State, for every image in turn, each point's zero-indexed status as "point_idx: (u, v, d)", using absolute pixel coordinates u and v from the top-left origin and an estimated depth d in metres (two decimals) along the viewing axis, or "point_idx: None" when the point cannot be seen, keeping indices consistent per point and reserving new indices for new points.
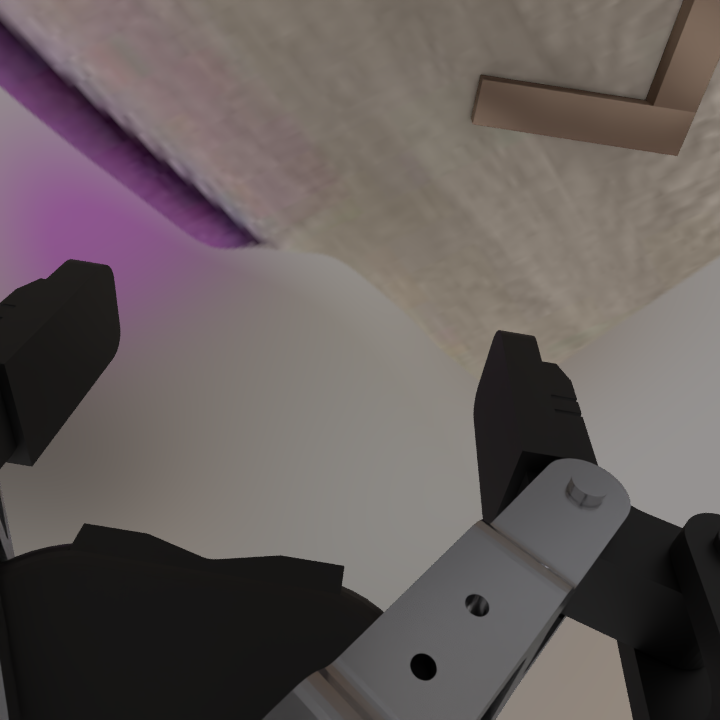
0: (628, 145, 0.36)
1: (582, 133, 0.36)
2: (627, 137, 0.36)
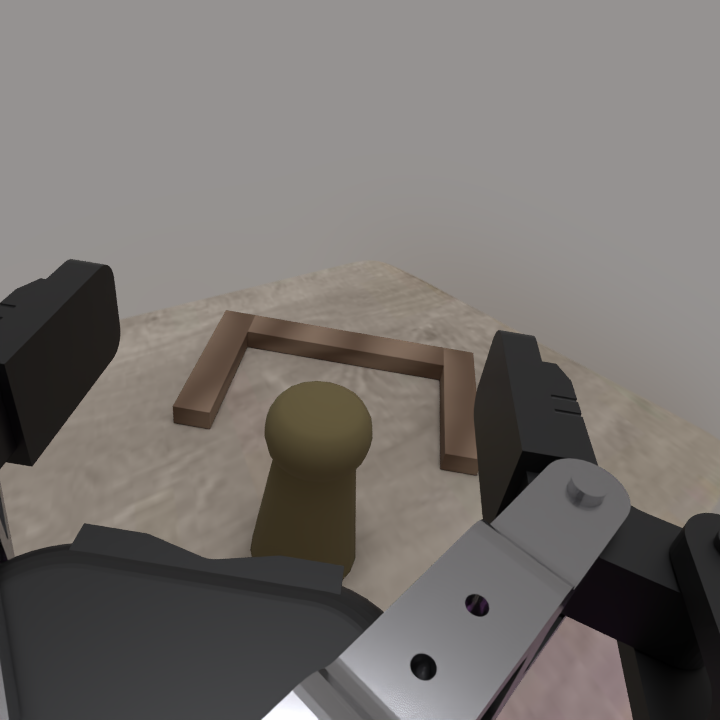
0: (472, 374, 0.48)
1: (471, 396, 0.45)
2: (467, 375, 0.47)
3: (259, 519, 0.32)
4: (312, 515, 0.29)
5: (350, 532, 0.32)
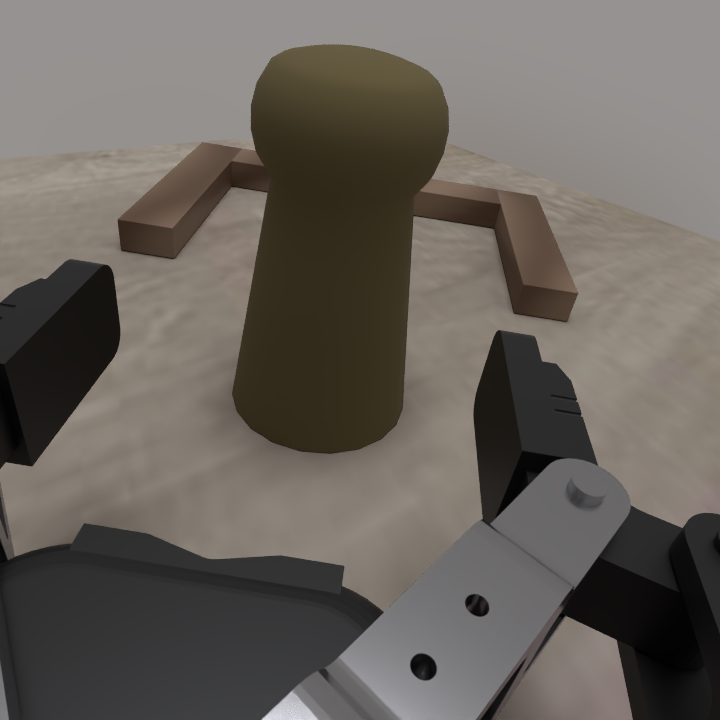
0: (541, 214, 0.35)
1: (545, 233, 0.32)
2: (534, 214, 0.34)
3: (245, 326, 0.19)
4: (340, 285, 0.16)
5: (400, 344, 0.19)
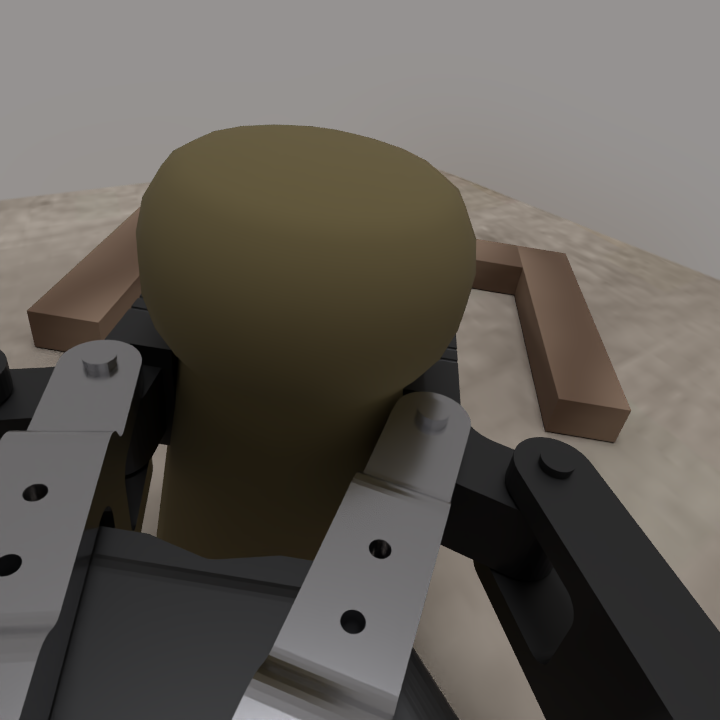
0: (573, 280, 0.28)
1: (579, 311, 0.26)
2: (565, 281, 0.28)
3: (158, 529, 0.13)
4: (292, 519, 0.10)
5: None
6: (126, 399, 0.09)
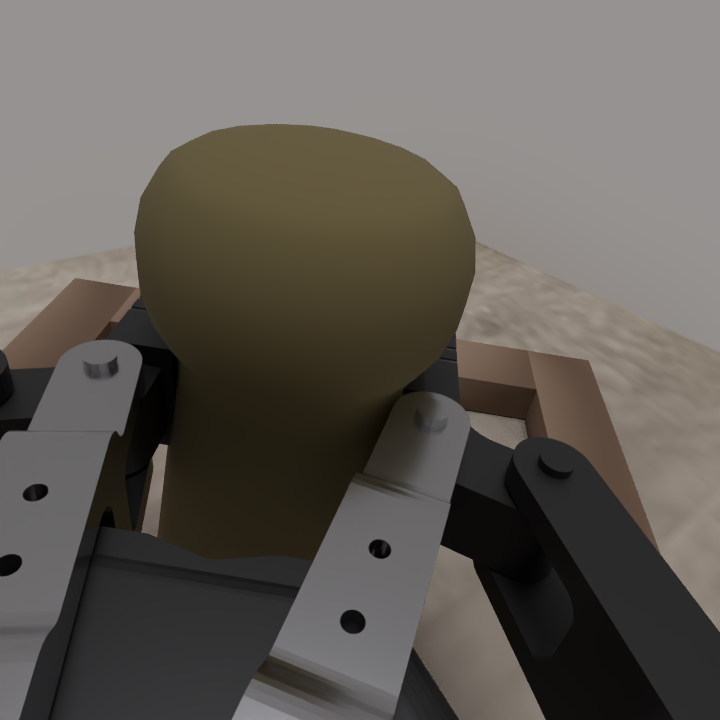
0: (602, 408, 0.22)
1: (614, 465, 0.19)
2: (592, 410, 0.22)
3: (159, 530, 0.13)
4: (291, 519, 0.10)
5: None
6: (126, 399, 0.09)
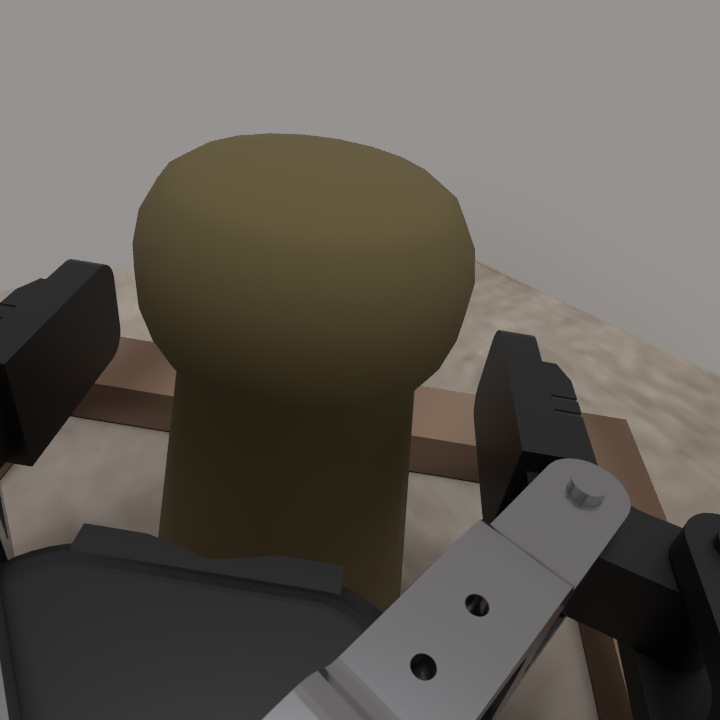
0: (648, 486, 0.18)
1: None
2: (635, 490, 0.17)
3: (159, 536, 0.13)
4: (291, 529, 0.10)
5: (393, 570, 0.12)
6: None
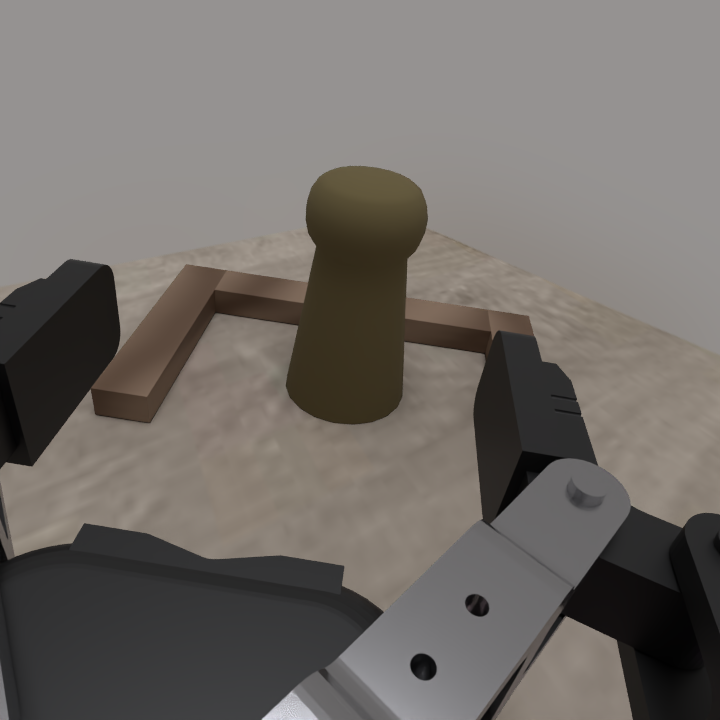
0: None
1: None
2: None
3: (296, 340, 0.29)
4: (360, 314, 0.26)
5: (399, 351, 0.28)
6: None
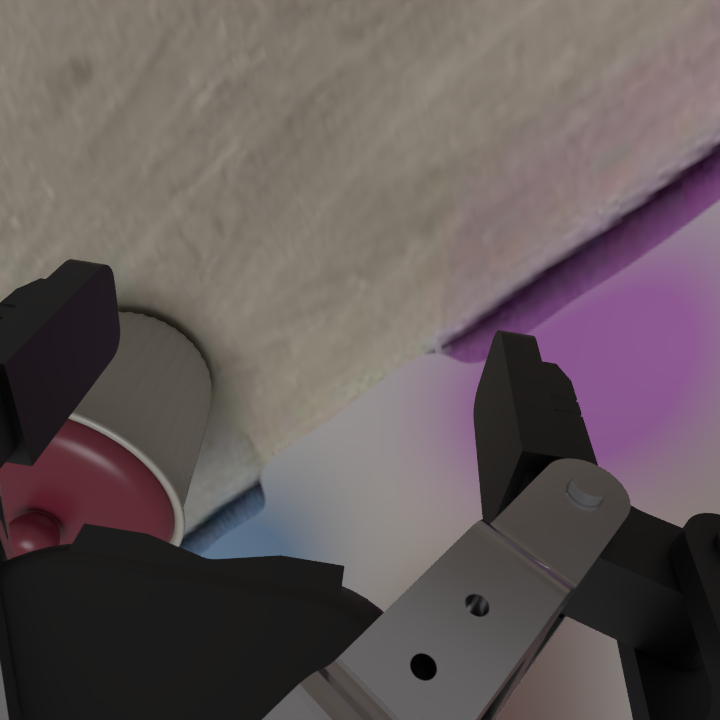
0: None
1: None
2: None
3: None
4: None
5: None
6: None
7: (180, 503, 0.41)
